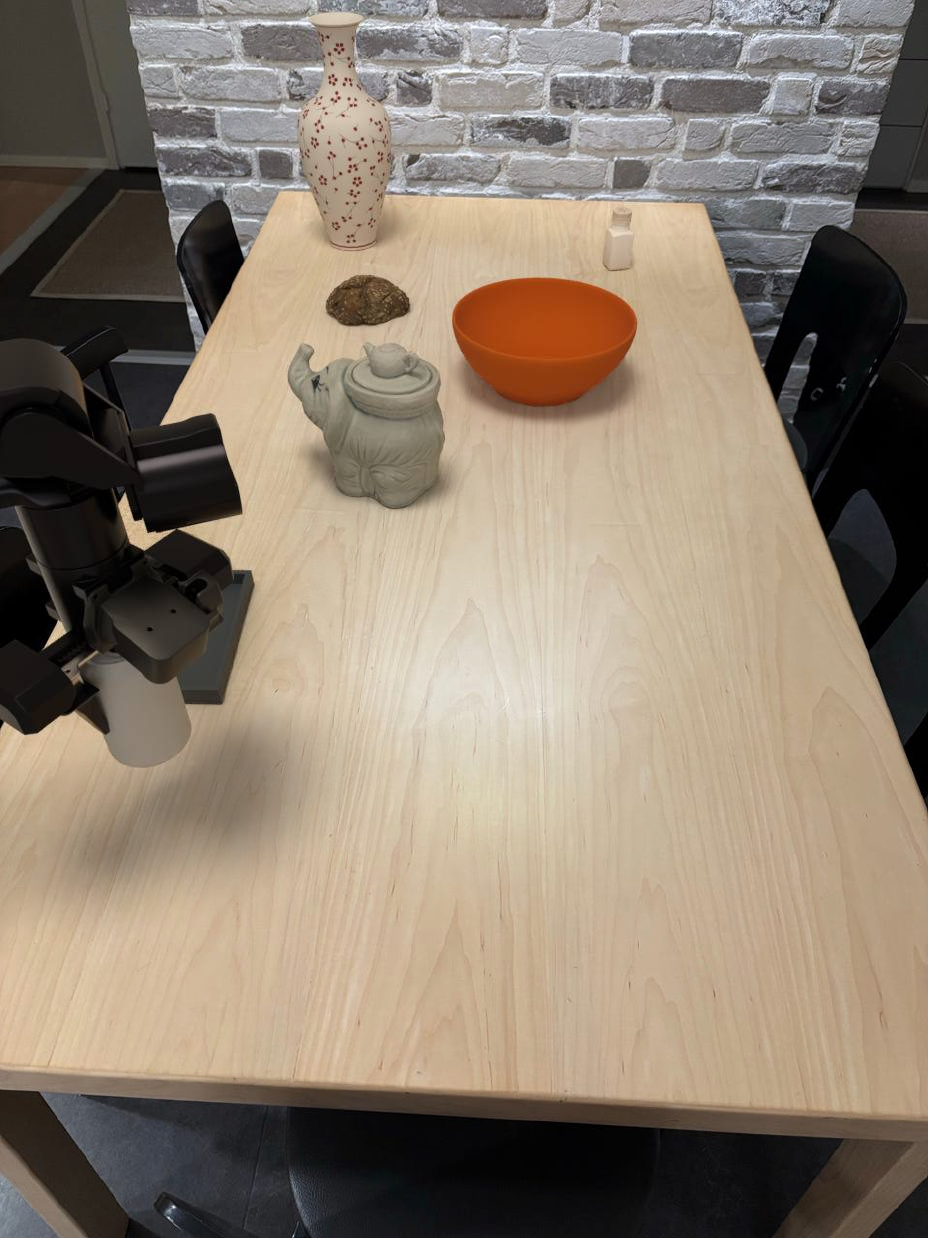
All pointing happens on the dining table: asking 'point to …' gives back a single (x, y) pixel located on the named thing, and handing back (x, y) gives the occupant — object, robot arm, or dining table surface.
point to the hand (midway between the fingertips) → (138, 702)
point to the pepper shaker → (619, 240)
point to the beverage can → (138, 711)
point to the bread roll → (367, 300)
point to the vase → (345, 140)
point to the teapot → (375, 420)
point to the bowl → (543, 337)
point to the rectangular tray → (219, 647)
